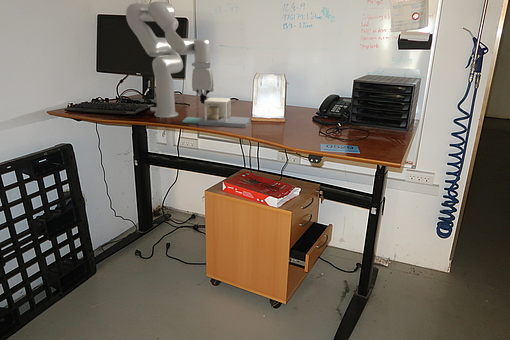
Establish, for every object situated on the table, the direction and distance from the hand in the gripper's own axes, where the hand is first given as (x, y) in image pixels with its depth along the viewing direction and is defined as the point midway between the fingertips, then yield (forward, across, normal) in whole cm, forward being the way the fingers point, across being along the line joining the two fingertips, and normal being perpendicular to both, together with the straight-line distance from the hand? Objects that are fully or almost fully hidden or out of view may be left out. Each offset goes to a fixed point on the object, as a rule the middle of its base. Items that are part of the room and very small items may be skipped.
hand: (203, 102), depth 194 cm
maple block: (+10, +5, 0) cm, 11 cm away
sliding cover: (+8, +7, 0) cm, 11 cm away
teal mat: (+10, -6, 0) cm, 11 cm away
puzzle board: (+10, +11, 0) cm, 15 cm away
